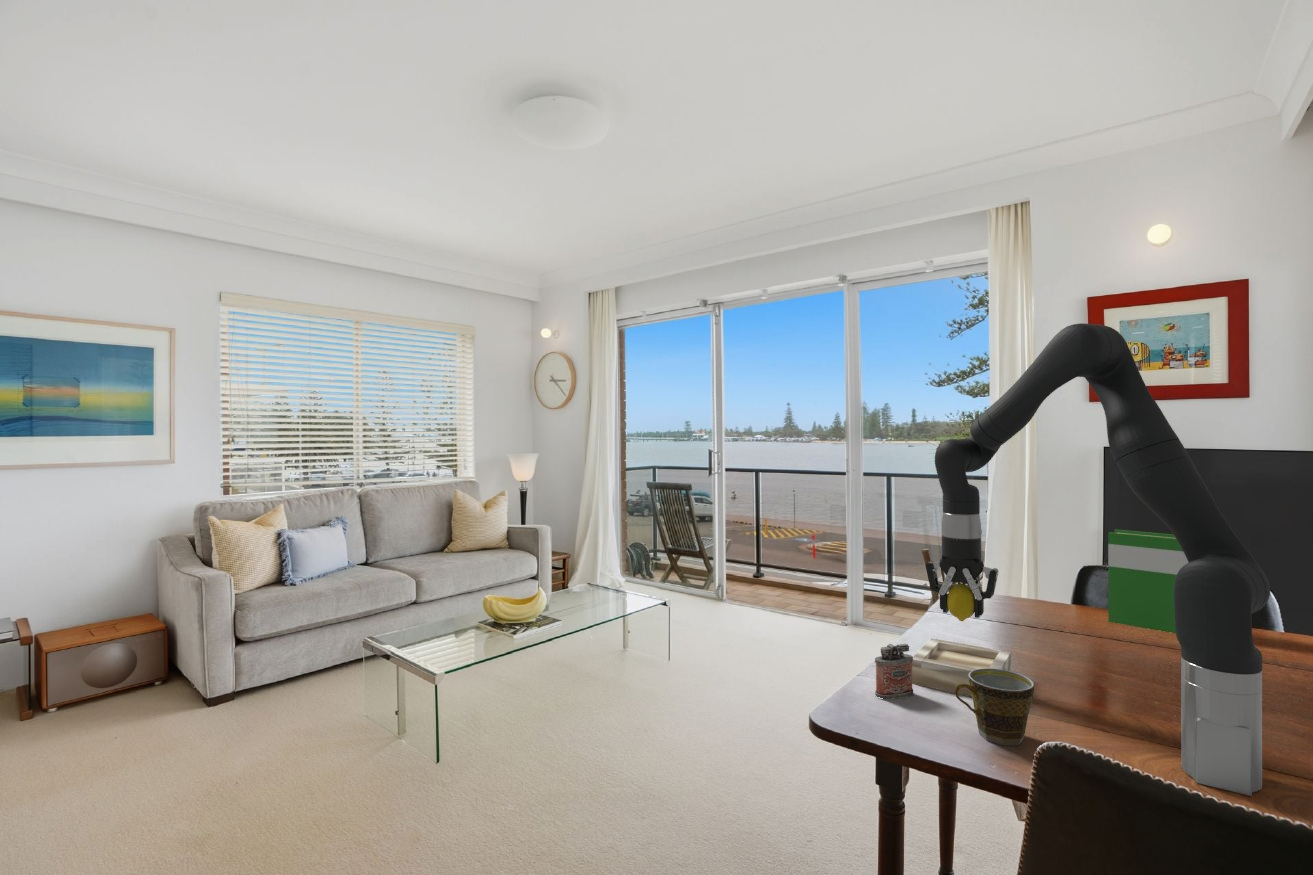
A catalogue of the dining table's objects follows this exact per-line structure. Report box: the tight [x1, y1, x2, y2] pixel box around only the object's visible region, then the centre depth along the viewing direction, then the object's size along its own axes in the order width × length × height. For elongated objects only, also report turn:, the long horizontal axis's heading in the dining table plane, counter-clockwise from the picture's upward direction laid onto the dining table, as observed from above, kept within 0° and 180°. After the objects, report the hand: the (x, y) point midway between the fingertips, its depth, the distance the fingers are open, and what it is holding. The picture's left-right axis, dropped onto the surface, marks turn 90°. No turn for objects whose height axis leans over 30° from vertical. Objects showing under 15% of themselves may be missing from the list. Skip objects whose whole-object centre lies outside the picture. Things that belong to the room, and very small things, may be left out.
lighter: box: [874, 643, 914, 700], centre depth 129 cm, size 8×3×10 cm, turn 105°
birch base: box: [912, 637, 1012, 698], centre depth 137 cm, size 16×16×6 cm
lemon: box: [947, 582, 976, 622], centre depth 136 cm, size 6×6×8 cm
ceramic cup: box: [954, 669, 1035, 747], centre depth 111 cm, size 13×10×10 cm
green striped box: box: [1107, 529, 1189, 635], centre depth 170 cm, size 18×7×24 cm, turn 43°
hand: (961, 614), depth 136 cm, fingers closed on lemon, 5 cm apart
